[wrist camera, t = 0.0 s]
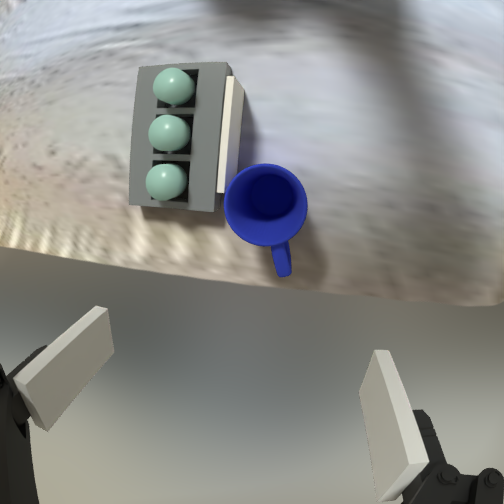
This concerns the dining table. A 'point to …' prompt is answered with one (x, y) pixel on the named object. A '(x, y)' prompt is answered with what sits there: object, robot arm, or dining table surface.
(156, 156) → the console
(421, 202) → the dining table surface
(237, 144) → the pattern card
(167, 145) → the button middle
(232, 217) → the mug
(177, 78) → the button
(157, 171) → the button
